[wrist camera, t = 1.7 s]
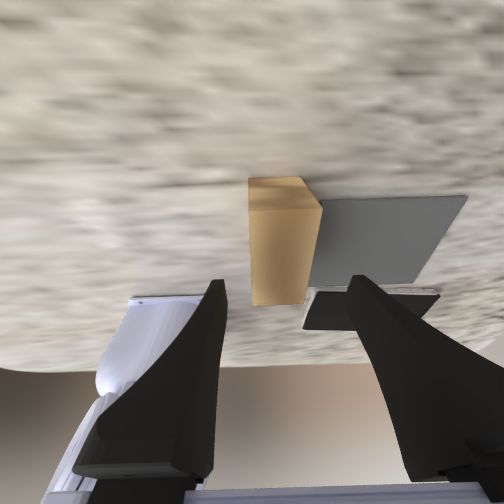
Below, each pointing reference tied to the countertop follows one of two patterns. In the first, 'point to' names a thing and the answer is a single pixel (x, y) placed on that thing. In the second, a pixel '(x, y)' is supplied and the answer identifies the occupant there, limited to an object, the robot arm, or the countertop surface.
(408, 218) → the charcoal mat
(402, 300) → the smartphone
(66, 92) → the countertop surface
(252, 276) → the oak slab
